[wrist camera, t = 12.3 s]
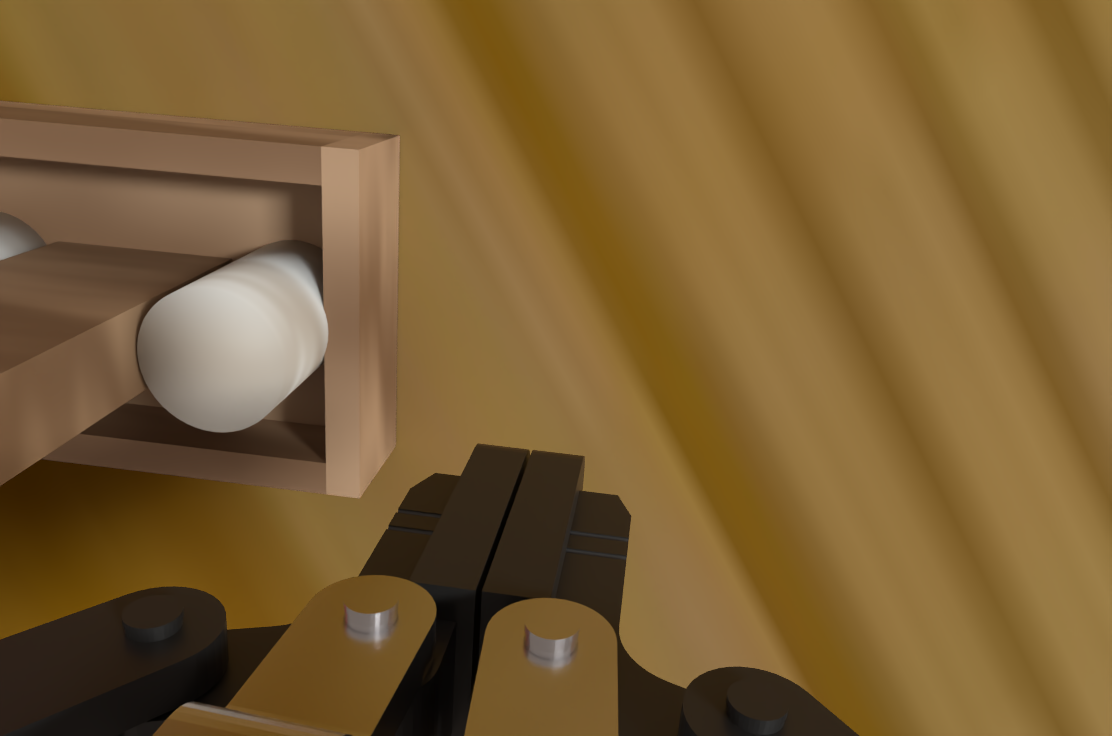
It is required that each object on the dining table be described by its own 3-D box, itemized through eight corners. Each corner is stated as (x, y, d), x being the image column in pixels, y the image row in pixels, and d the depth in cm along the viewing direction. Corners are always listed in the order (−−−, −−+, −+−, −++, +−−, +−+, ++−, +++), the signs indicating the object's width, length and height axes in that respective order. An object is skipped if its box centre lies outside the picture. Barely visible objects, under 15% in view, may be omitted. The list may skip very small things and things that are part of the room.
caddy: (396, 445, 25) (193, 737, 14) (-30, 396, 26) (-499, 634, 16) (399, 135, 22) (154, 222, 12) (-76, 94, 23) (-682, 141, 13)
